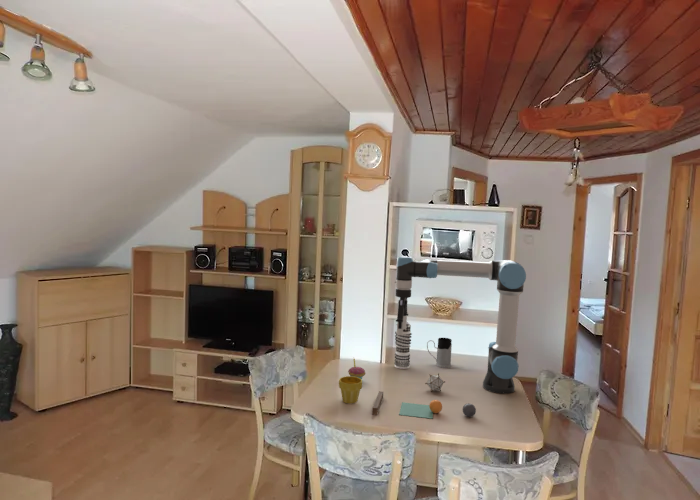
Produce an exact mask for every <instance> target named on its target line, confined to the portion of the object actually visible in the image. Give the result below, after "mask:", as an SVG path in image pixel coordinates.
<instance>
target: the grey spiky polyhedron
mask: <svg viewBox="0 0 700 500" xmlns="http://www.w3.org/2000/svg"><path fill="white" fill-rule="evenodd" d="M428 375H429V378H428V379H427V382H425V383H424V384H425V385H427V386H428V387H429V389H430V392H431V393H432V392H433V391H440V392H442V390H441V389H442V387H443V385H444V383H446V381H444V380H443V379H442V378H441V376H440V373H437V374H434V375H431V374H429V373H428Z"/></svg>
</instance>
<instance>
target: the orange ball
mask: <svg viewBox="0 0 700 500" xmlns="http://www.w3.org/2000/svg"><path fill="white" fill-rule="evenodd" d="M428 405H429V408H430V410H431V411H432V412H433V414H439V413H441V411H442V410H443V403H442V402H441V401H440V400H439V399H432V400H431V401H430V402H429V404H428Z"/></svg>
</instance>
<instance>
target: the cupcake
mask: <svg viewBox="0 0 700 500" xmlns="http://www.w3.org/2000/svg"><path fill="white" fill-rule="evenodd" d="M352 359H353V360H352V361H353V367H350V368H349V369H348V371H347V373H348V376H354V377H358V378H360V379H362V380H363V378H364V376H365V375H366V370H365V369H364V368H363V367H361V366H356V359H355V358H352Z"/></svg>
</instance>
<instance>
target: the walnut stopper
mask: <svg viewBox="0 0 700 500" xmlns="http://www.w3.org/2000/svg"><path fill="white" fill-rule="evenodd" d="M383 399H384V391H382V390H381V391H379V390H378V393H377V396H376V399H375V400H374V403H373V406H372V410H371V414H372V416H378V413H379V410H380V408H381V405H382V402H383Z"/></svg>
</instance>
